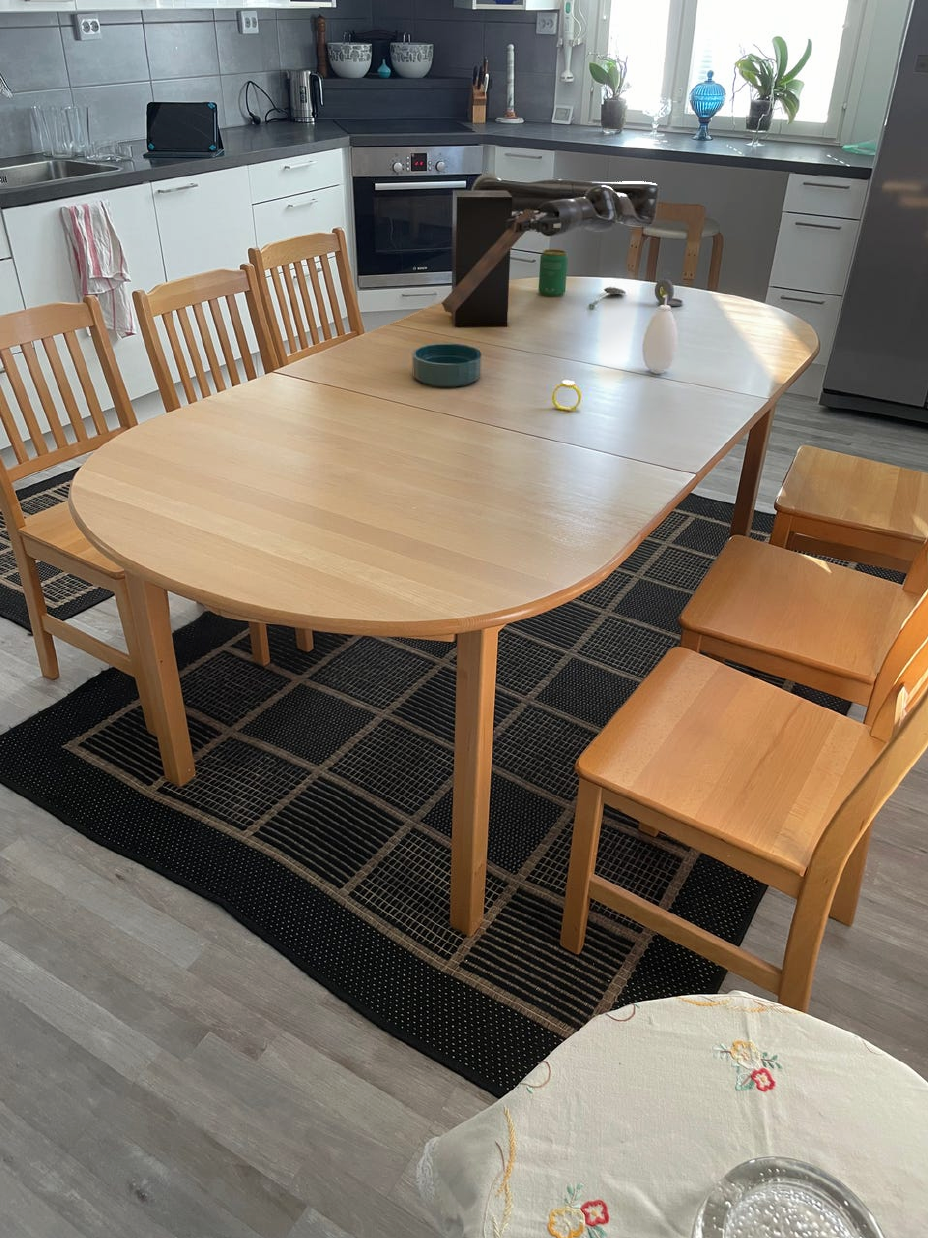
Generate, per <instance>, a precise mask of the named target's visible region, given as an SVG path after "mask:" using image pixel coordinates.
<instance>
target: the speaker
mask: <svg viewBox="0 0 928 1238" xmlns="http://www.w3.org/2000/svg"><path fill="white" fill-rule="evenodd" d="M512 202H513V197H512V196H511V195H510V194H509V192H508V191H481V190H455V189H454V190H452V223H451V224H452V225H451V226H452V228H451V229H452V230H451V231H452V233H451V234H452V235H451V236H452V237H451V292H452V291H453V290H454V289H455V288H456V287H457V285H458V284H459V283H460V282H461V281H462V280H463V279H464V278H465V276H466V275H467V274H468V273H469V272H470V271H471V270H472V269H473V267H474V266H475V265H476V264H477V263H478V262H479V261H480V260H481V259H482V257H483V256H484V255H485V254H486V253H487V252H488V251H489V250H490V248H491V247H492V246H493V245H494V244H495V243H496V242H497V241H498V239H499V238H500V237H501V236H502V235H503V234H504V233H505V232H506V231H507V230H506V221H507V220H510V219H512V215H513V212H512ZM510 268H511V249H510V250H509V251H508V252H507V253H506V254H505V255H504V256H503V258H502V259H501V260H500V261H499V262H498V263H497V264H496V266H495V267H494V268H493V269H492V270H491V271H490V272H489V273H488V275H487V276H486V277H485V278H484V279H483V280H482V281H481V283H480V284H479V285H478V286H477V287H476V288H475V289H474V290H473V292H472V293H471V294H470V295H469V296H468V297H467V298H466V299H465V301H464V302H463V303H462V304H461V305H460V306H459V307H458V309H457V310H456V311H455V312H454V313H450V314H451V315H450V316H451V320H452V322H453V325H454V327H455V328H495V327H496V328H497V327H498V328H499V327H508V319H509V318H508V315H509V296H510V295H509V293H510V292H509V291H510Z"/></svg>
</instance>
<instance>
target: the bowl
mask: <svg viewBox="0 0 928 1238" xmlns="http://www.w3.org/2000/svg"><path fill="white" fill-rule="evenodd" d="M482 355H483V354H482V352H481V351H480V350H479V349H477V348H475V347H473V346H469V345H466V344H459V343H431V344H425V345H422V346H419V347H417V348H416V349H413V351H412V352H411V374H412V377H413V378H414V379H416V380H417V381H419V382H420V383H422V384H425V385H427V386H431V387H437V388H457V387H464V386H467V385H470V384H473V383H474V382H476V381H477V380H479V379H480V378H481V376H482V357H483V356H482Z"/></svg>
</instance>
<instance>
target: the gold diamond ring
mask: <svg viewBox="0 0 928 1238" xmlns="http://www.w3.org/2000/svg"><path fill="white" fill-rule="evenodd" d="M562 387H563V388H568V389H573V390H574V391H576V393H577V396H578V401H577V403H575V405H574V406H572V407H569V406H563V405H560V404H559V403H558V402H557V400H556V396H555V395H556V391H557V390H558V389H559V388H562ZM551 400H552V404H553V406H554V407H555V408H556V409H557V410H561V411H567V412H572V411H574V410H576V409H577V408H578V407H579V405H580V403H581V401H582V393H581V390H580V388H579V387H578V386H577V385H576V382H575V381H573V380H567V379H566V380H562V381H561V383H559V384H557V386H556V387H555V388H554V389H553V392H552V396H551Z"/></svg>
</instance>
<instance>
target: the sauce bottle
mask: <svg viewBox="0 0 928 1238" xmlns="http://www.w3.org/2000/svg"><path fill="white" fill-rule="evenodd" d="M665 297H666V298H665ZM665 297H664V298H665V304H664V305H662V304H660V305H659V307H658V310H656V312H655V313H654V315H652V317H651V319H650V321H649V323H648V325H647V328H646V330H645V332H644V336H643V341H642V348H641V349H642V358H643V362H644V365H645V367H646V368H647V369H648V370H649V372H650V373H652V374H655V375H660V374H662V373H665V370H668V369H670V367H671V366H672V364H673V362H674V360H675V358H676V356H677V351H678V346H679V332H678V327H677V322H676V319H675V316H674V314H673V312H672V311H671V310H672V306H668V305H667V293H666V295H665Z"/></svg>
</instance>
